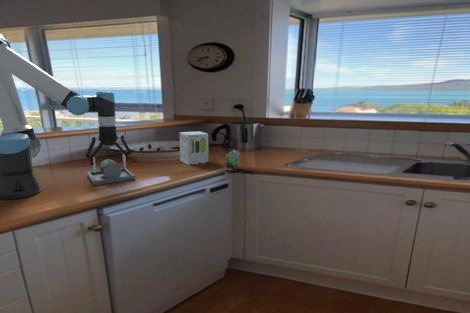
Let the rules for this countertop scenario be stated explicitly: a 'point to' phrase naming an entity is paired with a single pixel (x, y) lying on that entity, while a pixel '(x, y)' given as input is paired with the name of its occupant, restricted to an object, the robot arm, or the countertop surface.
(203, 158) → the supplement box
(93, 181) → the tray
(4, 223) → the countertop surface
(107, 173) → the canned tomato
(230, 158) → the food container
